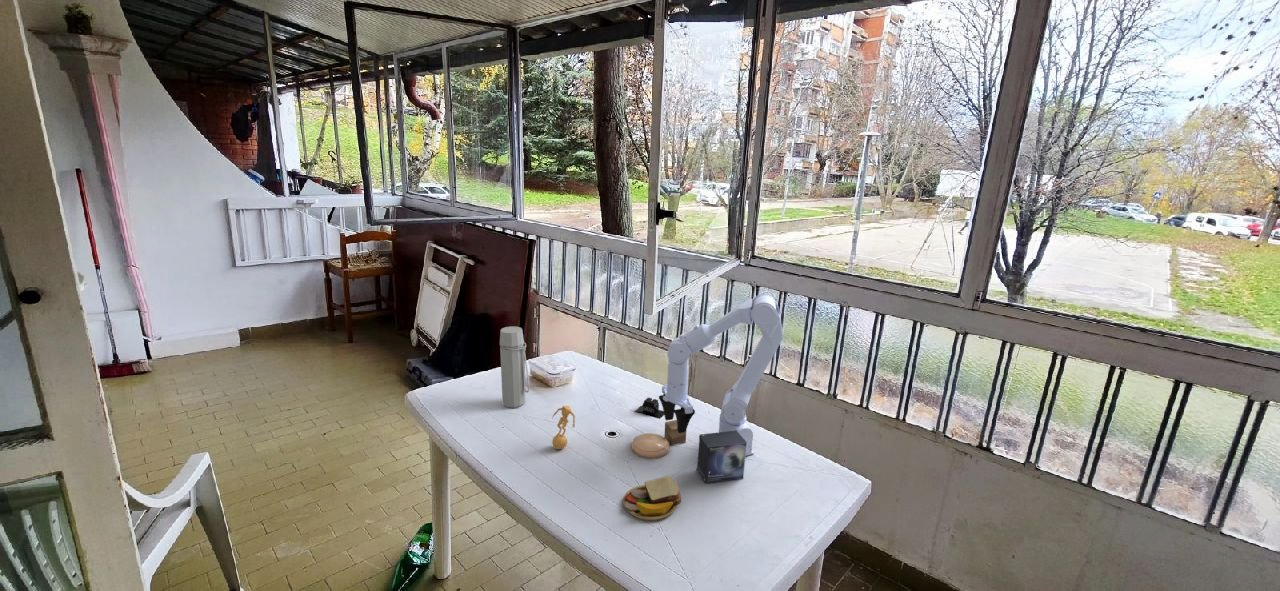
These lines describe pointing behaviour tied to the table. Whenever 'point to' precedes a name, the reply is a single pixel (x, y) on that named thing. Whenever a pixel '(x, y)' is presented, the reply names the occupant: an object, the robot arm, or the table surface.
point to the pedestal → (650, 446)
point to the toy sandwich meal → (653, 499)
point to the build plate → (650, 408)
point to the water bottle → (513, 366)
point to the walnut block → (674, 433)
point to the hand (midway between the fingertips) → (675, 425)
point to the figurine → (560, 439)
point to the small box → (721, 456)
